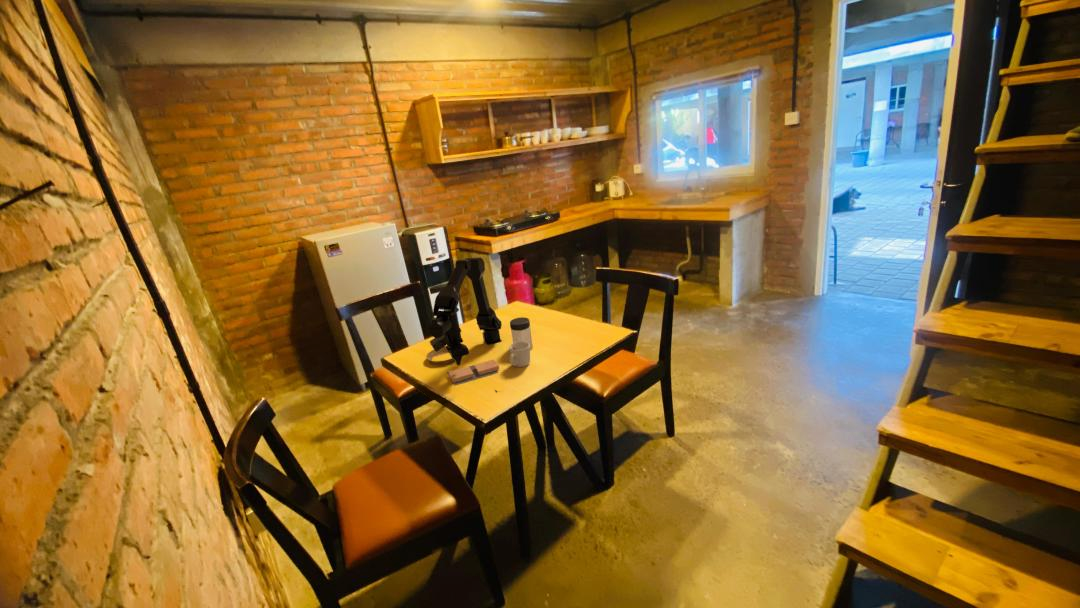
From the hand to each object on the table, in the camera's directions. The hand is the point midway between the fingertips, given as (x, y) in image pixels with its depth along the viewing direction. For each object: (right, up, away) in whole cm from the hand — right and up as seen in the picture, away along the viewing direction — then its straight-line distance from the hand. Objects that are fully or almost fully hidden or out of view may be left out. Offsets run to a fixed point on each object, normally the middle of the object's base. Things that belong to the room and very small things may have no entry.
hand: (458, 364), depth 171 cm
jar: (+24, +4, +19) cm, 31 cm away
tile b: (0, -3, +3) cm, 4 cm away
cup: (+23, -1, +4) cm, 23 cm away
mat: (+5, -4, +2) cm, 7 cm away
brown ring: (-9, 0, +18) cm, 20 cm away
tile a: (+9, -1, +6) cm, 11 cm away
